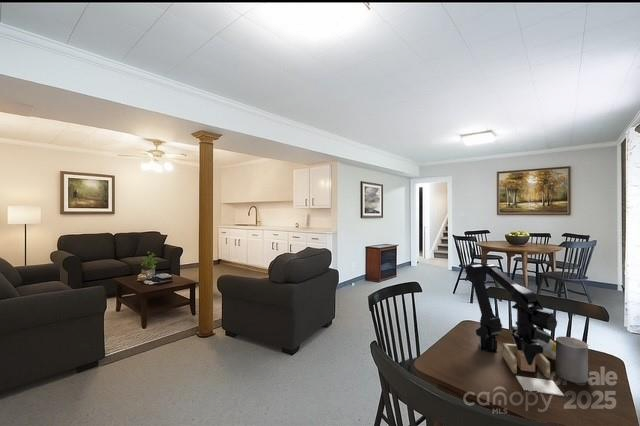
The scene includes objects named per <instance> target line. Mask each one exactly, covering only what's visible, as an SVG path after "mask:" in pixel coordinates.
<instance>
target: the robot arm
mask: <svg viewBox="0 0 640 426" xmlns="http://www.w3.org/2000/svg"><path fill="white" fill-rule="evenodd" d="M486 274H487V275H488V276H489V277H490V278H492V279H493V280H494V281H495V282H496V283H498V285H500V286H501V287H502V288H503V289H504V290H506V291H507V293H509V297H510V298H511V299H512V300H513V301H514V302H515V304H514V305H512V306H511V308H512V309H515V310H516V320H515V325H516V326H513V325H512V326H511V327H509V332H510V335H511V337H512V339H513V342H514V344H515V345H516V346H517V348H518V350H522V351H523V353H524V356H525V358H526V361H527V363H528V365H532V363H533V360H534V358H535V356H536V354H541V353H542V354H544V353H543V347H542V346H541V345H540V344H539V343H538V342H537V341H533V340H537V339H539V340H542V341H544V342H545V343H549V341H550V339H551V340H552V337H553V336H552V335H551V334H550V333H548V332H547V331H549V332H553V331H555V330H556V328H557V325H558V321H557V318H556V317H555V316H554V312H551V311H547V310H544V307H543V305H542V304H541V303H540V302H539V299H538V298H537V295H536V293H535V292H534V291H532V290H530V289H529V288H527V287H524V286H522V285H519V284H518V283H517V282H515V280H513V279H512V278H510V277H509V276H508V275H506V273H504V272H503V271H502V270H500V269H499V268H498V267H497V265H495V264H486V265H482V264H480V263H477V264H469V265H467V266H466V268H465V275H466V276H467V278H468V280H469V282H471V284H473V289H474V292H475V296H476V299H477V303H478V306H479V310H480V314H481V317H480V321H479V324H480V327H478V328H477V329H475V335H476V336H477V337H479V342H478V347H479V349H480V350H481V352H491V353H498V340H497V337H498V336H499V335H500V333H501V332H502V331H503V324H502V321H501V318H500V317H497V316H496V314H494V312H493V309H492V305H491V301H490V297H489V293H488V291H487V287H486V284H485V281H486V278H487V275H486ZM546 330H547V331H546Z"/></svg>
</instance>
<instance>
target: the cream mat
mask: <svg viewBox="0 0 640 426" xmlns="http://www.w3.org/2000/svg"><path fill="white" fill-rule="evenodd" d="M515 378H516V380H517V381H518V383H519V384H520V386H521V387H522V389H523V391H525V390H526V391H527V390H528V391H527V392H532V391H537V392H536V393H539V392H540V394H547V395H554V396H560V397H565V394H564V393H563V392H562V391H561V390H560V388H559V387H558V386H557V385H556V383H555V382H554V381H553V380H551V379H544V378H534V377H529V376H528V377H527V376H521V375H515Z"/></svg>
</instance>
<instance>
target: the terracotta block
mask: <svg viewBox="0 0 640 426" xmlns="http://www.w3.org/2000/svg"><path fill="white" fill-rule="evenodd" d="M517 367H518V368H519V370H520V371H525V372H531V373H535V372H536V364H535V358H534V360H533V363H532V365H528V363H527V361H526V358H525V356H524V353H523V351H522V350H517Z"/></svg>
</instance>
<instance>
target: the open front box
mask: <svg viewBox="0 0 640 426" xmlns="http://www.w3.org/2000/svg"><path fill="white" fill-rule="evenodd" d="M517 350H518V348H517V346H516V344H515V343H504V342H503V343H502V357H503V359H504V360H505V362H506V364H507V365H508V367H509V369H510V371H511V372H512V373H513V374H517V372H518V369H517V367H518V365H517ZM535 366H536V367H537V368H538V369H539V370H540V372H541V373H542V374H543V376H545V378H548V379H551V362H550V361H549V360H548V359H547V358H546V356H545V354H544V353H541V354H536V356H535Z"/></svg>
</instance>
